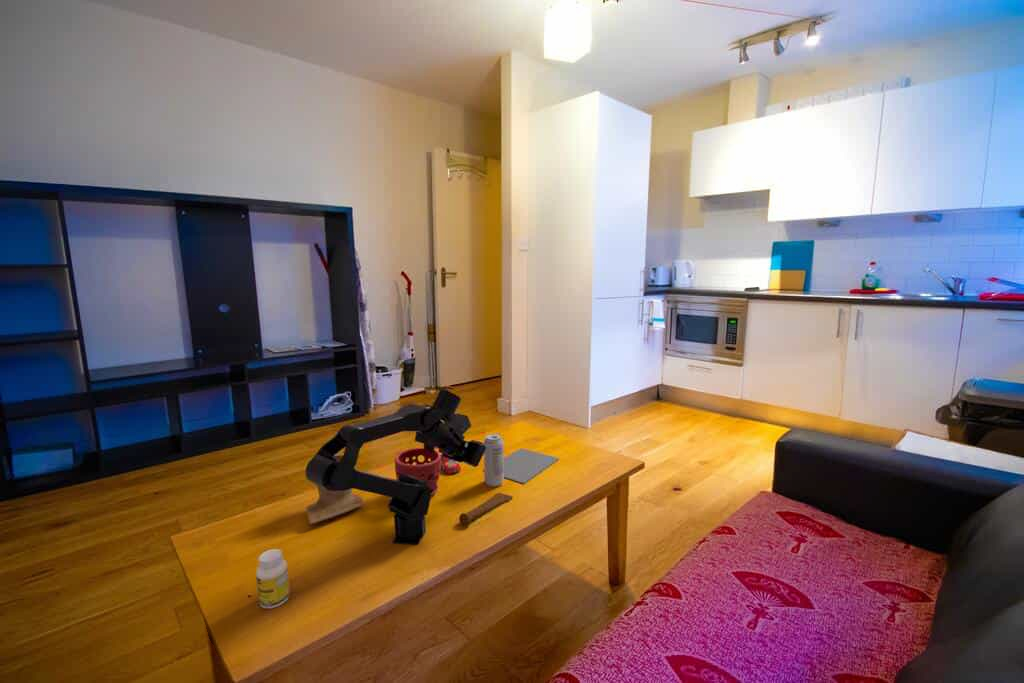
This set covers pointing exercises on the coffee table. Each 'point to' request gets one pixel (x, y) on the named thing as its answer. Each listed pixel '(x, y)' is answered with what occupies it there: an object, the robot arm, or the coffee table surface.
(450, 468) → the race car
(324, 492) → the stone cup
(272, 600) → the supplement bottle
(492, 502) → the primitive tool
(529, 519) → the coffee table surface
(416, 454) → the plant pot
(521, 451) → the mat
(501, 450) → the energy drink can
